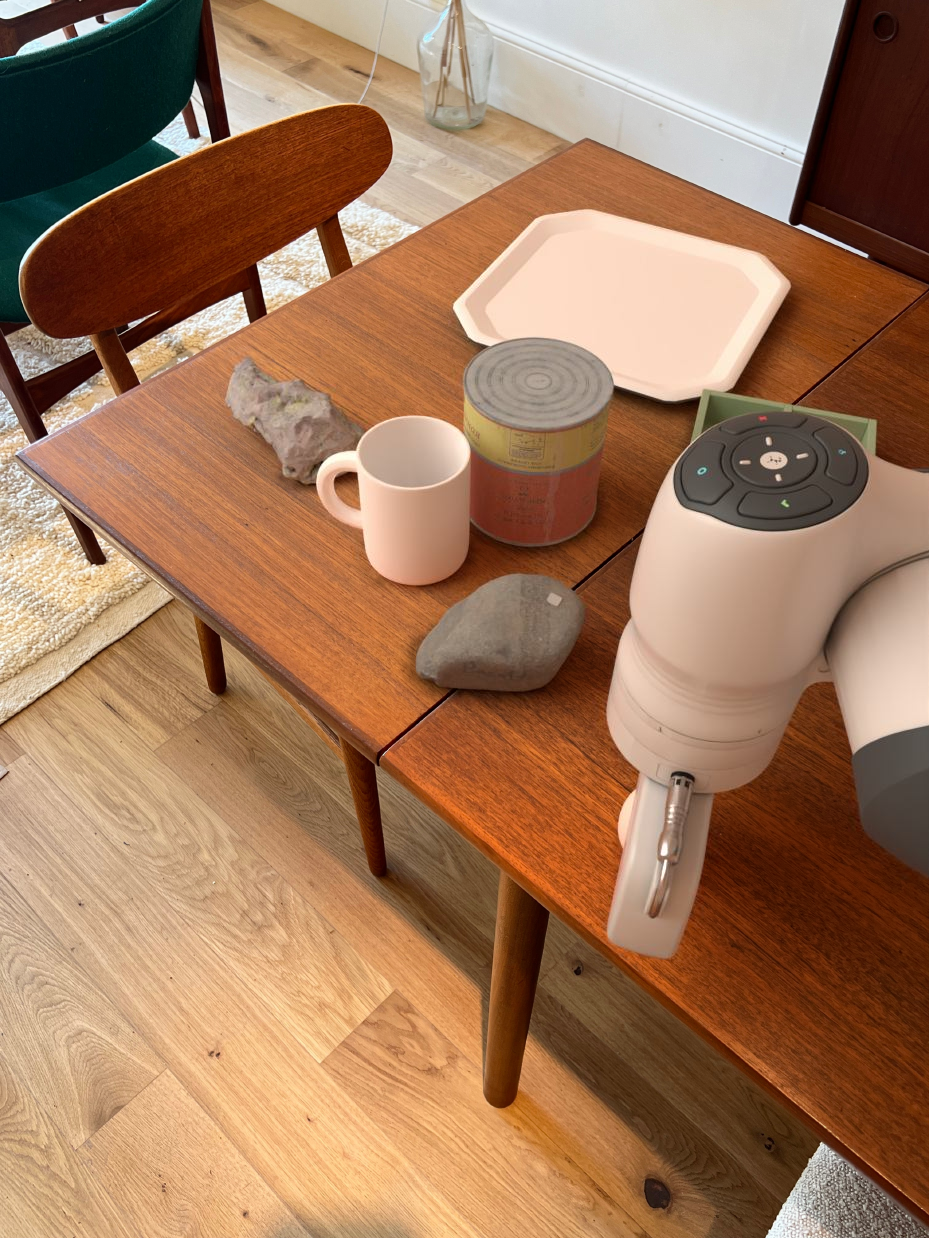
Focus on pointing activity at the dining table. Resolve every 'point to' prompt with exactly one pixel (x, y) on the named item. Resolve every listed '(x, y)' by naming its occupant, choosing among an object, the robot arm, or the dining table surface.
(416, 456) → the mug
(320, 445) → the rock
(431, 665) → the stone
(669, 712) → the robot arm
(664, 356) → the plate
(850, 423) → the carton
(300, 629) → the dining table surface
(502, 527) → the canned food
